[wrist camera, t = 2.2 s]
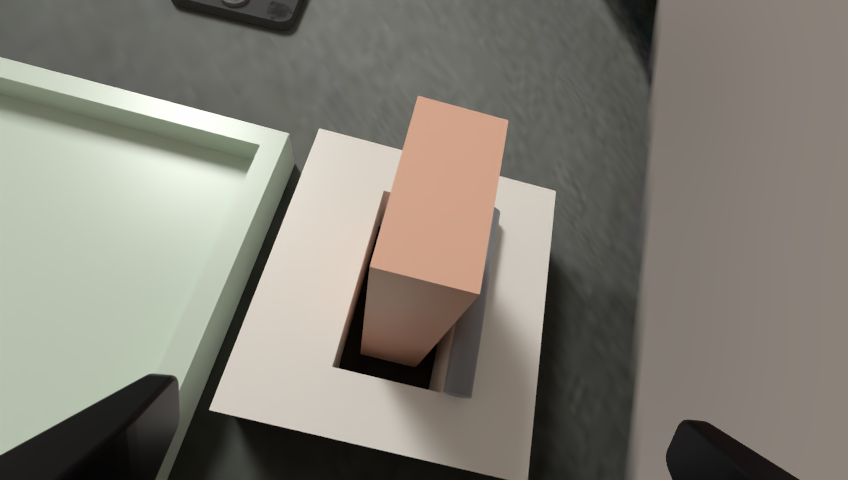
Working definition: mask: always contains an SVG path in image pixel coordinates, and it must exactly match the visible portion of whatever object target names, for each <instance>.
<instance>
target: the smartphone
mask: <svg viewBox="0 0 848 480" xmlns="http://www.w3.org/2000/svg"><path fill="white" fill-rule="evenodd" d="M172 2H173V3H174V4H175V5H177V6H180V7H184V8H189V9H193V10H197V11H201V12H205V13H209V14H213V15H218V16H222V17H226V18H230V19H234V20H238V21H243V22H247V23H251V24H255V25H259V26H263V27H267V28H272V29H276V30H287V29H290V28H291V27H292V26H293V24H294V22H295V19H296V17H297V14H298V12H299V10H300V7H301V5H302V2H303V0H172Z"/></svg>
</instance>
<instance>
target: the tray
mask: <svg viewBox="0 0 848 480" xmlns="http://www.w3.org/2000/svg"><path fill="white" fill-rule="evenodd" d="M294 165H295V160H294V155H293V150H292V145H291V140H290V135H289V133H285V132H282V131H278V130H274V129H270V128H266V127H263V126H259V125H255V124H251V123H247V122H244V121H240V120H236V119H232V118H229V117H225V116H221V115H217V114H213V113H210V112H206V111H202V110H198V109H194V108H191V107H187V106H183V105H179V104H176V103H172V102H168V101H164V100H160V99H157V98H153V97H149V96H145V95H141V94H138V93H134V92H130V91H126V90H122V89H119V88H115V87H111V86H107V85H104V84H100V83H96V82H92V81H88V80H85V79H81V78H77V77H73V76H69V75H66V74H62V73H58V72H54V71H51V70H47V69H43V68H39V67H35V66H32V65H28V64H24V63H20V62H16V61H13V60H9V59H5V58H1V57H0V455H1V454H3V453H5V452H7V451H8V450H10V449H12V448H14V447H16V446H18V445H19V444H21V443H23V442H25V441H27V440H29V439H30V438H32V437H34V436H36V435H38V434H39V433H41V432H43V431H45V430H47V429H49V428H50V427H52V426H54V425H56V424H58V423H60V422H61V421H63V420H65V419H67V418H69V417H71V416H72V415H74V414H76V413H78V412H80V411H81V410H83V409H85V408H87V407H89V406H91V405H92V404H94V403H96V402H98V401H100V400H102V399H103V398H105V397H107V396H109V395H111V394H113V393H114V392H116V391H118V390H120V389H122V388H123V387H125V386H127V385H129V384H131V383H133V382H134V381H136V380H138V379H140V378H142V377H144V376H146V375H148V374H152V373H156V374H168V375H174V376H175V377H177V379H178V383H179V401H180V420H179V424H178V428H177V430H176V433H175V435H174V437H173V440H172V442H171V444H170V447H169V449H168V451H167V454H166V456H165V458H164V461H163V463H162V465H161V468H160V470H159V472H158V475H157V477H156V479H155V480H167V479H168V476H169V474H170V471H171V469H172V467H173V464H174V462H175V459H176V457H177V454H178V452H179V449H180V447H181V444H182V442H183V439H184V437H185V434H186V432H187V429H188V427H189V425H190V422H191V420H192V417H193V415H194V412H195V410H196V407H197V405H198V402H199V400H200V397H201V395H202V392H203V390H204V388H205V385H206V383H207V380H208V378H209V375H210V373H211V370H212V368H213V365H214V363H215V360H216V358H217V355H218V353H219V350H220V348H221V346H222V343H223V341H224V338H225V336H226V333H227V331H228V328H229V326H230V323H231V321H232V318H233V316H234V313H235V311H236V309H237V306H238V304H239V301H240V299H241V296H242V294H243V291H244V289H245V286H246V284H247V281H248V279H249V276H250V274H251V271H252V269H253V267H254V264H255V262H256V259H257V257H258V254H259V252H260V249H261V247H262V244H263V242H264V239H265V237H266V234H267V232H268V229H269V227H270V225H271V222H272V220H273V217H274V215H275V212H276V210H277V207H278V205H279V202H280V200H281V197H282V195H283V192H284V190H285V188H286V185H287V183H288V180H289V178H290V175H291V173H292V170H293V168H294Z"/></svg>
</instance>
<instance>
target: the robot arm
mask: <svg viewBox="0 0 848 480" xmlns="http://www.w3.org/2000/svg"><path fill="white" fill-rule="evenodd" d="M179 420H180V401H179V383H178V379H177V377H175V376H174V375H168V374H156V373H152V374H148V375H146V376H144V377H142V378H140V379H138V380H136V381H134V382H133V383H131V384H129V385H127V386H125V387H123V388H122V389H120V390H118V391H116V392H114V393H113V394H111V395H109V396H107V397H105V398H103V399H102V400H100V401H98V402H96V403H94V404H92V405H91V406H89V407H87V408H85V409H83V410H81V411H80V412H78V413H76V414H74V415H72V416H71V417H69V418H67V419H65V420H63V421H61V422H60V423H58V424H56V425H54V426H52V427H50V428H49V429H47V430H45V431H43V432H41V433H39V434H38V435H36V436H34V437H32V438H30V439H29V440H27V441H25V442H23V443H21V444H19V445H18V446H16V447H14V448H12V449H10V450H8V451H7V452H5V453H3V454H1V455H0V480H155V479H156V477H157V475H158V472H159V470H160V468H161V465H162V463H163V461H164V458H165V456H166V454H167V451H168V449H169V447H170V444H171V442H172V440H173V437H174V435H175V433H176V430H177V428H178V424H179ZM666 462H667V467H668V470H669V472H670V475H671V477H672V480H799V479H798V478H796V477H794V476H793V475H791V474H790V473H788V472H786V471H785V470H783V469H782V468H780V467H778V466H777V465H775V464H774V463H772V462H770V461H769V460H767V459H766V458H764V457H762V456H761V455H759V454H758V453H756V452H754V451H753V450H751V449H750V448H748V447H746V446H745V445H743V444H742V443H740V442H738V441H737V440H735V439H734V438H732V437H731V436H729V435H727V434H726V433H724V432H723V431H721V430H719V429H718V428H716V427H715V426H713V425H711V424H710V423H708V422H705V421H698V420H683V421H682V422H681V423H680V424H679V425H678V427H677V430H676V432H675V435H674V436H673V439H672V441H671V443H670V445H669V448H668V450H667V453H666Z"/></svg>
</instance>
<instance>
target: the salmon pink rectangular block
mask: <svg viewBox="0 0 848 480" xmlns="http://www.w3.org/2000/svg"><path fill="white" fill-rule="evenodd" d="M507 126H508V120H505V119H501V118H498V117H494V116H490V115H487V114H483V113H479V112H476V111H472V110H468V109H465V108H461V107H457V106H454V105H450V104H446V103H443V102H439V101H435V100H432V99H428V98H424V97H421V96H418V98H417V101H416V105H415V108H414V112H413V115H412V119H411V122H410V126H409V129H408V133H407V137H406V140H405V144H404V147H403V151H402V154H401V158H400V161H399V165H398V168H397V172H396V175H395V179H394V182H393V186H392V189H391V193H390V196H389V200H388V203H387V207H386V210H385V214H384V218H383V221H382V225H381V228H380V232H379V235H378V239H377V242H376V246H375V249H374V253H373V256H372V260H371V263H370V267H369V277H368V286H367V295H366V305H365V314H364V324H363V333H362V343H361V352H360V354H362V355H366V356H370V357H374V358H378V359H382V360H387V361H391V362H395V363H399V364H403V365H407V366H411V367H416V366H417V365H418V364H419V363H420V362H421V361H422V360H423V358H424V357H425V356H426V355H427V354H428V353H429V352H430V350H431V349H432V348H433V347H434V346H435V345H436V344H437V343H438V341H439V340H440V339H441V338H442V337H443V336H444V335H445V333H446V332H447V331H448V330H449V329H450V328H451V327H452V326H453V324H454V323H455V322H456V321H457V320H458V319H459V318H460V316H461V315H462V314H463V313H464V312H465V311H466V310H467V309H468V307H469V306H470V305H471V304H472V303H473V302H474V301H475V299H476V298H477V297H478V296H479V295H480V291H481V285H482V278H483V272H484V266H485V260H486V254H487V248H488V242H489V236H490V230H491V224H492V218H493V211H494V205H495V199H496V193H497V187H498V181H499V175H500V169H501V163H502V157H503V150H504V144H505V138H506V132H507Z"/></svg>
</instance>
